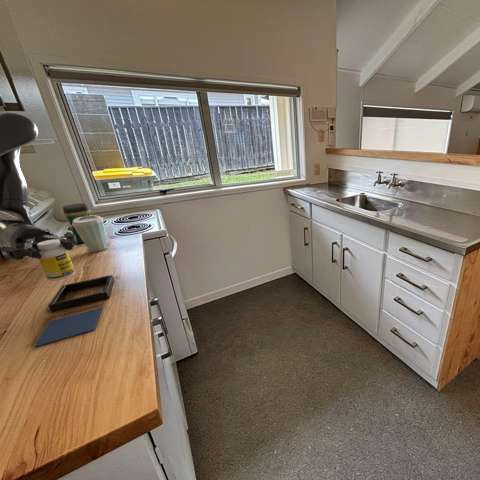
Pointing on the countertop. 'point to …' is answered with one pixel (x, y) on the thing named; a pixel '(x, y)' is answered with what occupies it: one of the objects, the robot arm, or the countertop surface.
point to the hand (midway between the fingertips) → (54, 250)
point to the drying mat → (69, 326)
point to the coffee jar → (76, 216)
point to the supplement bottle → (55, 260)
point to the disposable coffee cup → (91, 232)
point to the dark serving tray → (60, 305)
